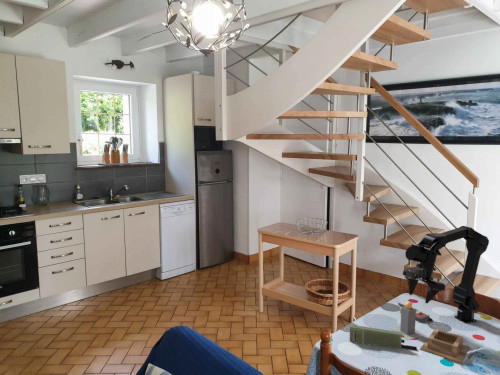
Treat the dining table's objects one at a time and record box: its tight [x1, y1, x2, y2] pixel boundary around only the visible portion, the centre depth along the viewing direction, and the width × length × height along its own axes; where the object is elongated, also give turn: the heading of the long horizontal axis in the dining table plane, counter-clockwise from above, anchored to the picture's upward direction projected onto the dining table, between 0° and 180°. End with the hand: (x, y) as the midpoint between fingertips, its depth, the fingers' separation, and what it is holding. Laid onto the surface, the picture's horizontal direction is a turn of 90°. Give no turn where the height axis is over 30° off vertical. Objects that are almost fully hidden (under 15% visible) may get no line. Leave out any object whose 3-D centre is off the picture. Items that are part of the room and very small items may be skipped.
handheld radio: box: [349, 324, 418, 351], centre depth 151 cm, size 7×3×25 cm
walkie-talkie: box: [397, 302, 433, 323], centre depth 178 cm, size 9×4×20 cm
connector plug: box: [399, 301, 417, 335], centre depth 160 cm, size 4×4×13 cm
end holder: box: [419, 328, 470, 365], centre depth 147 cm, size 14×14×5 cm
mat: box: [389, 326, 427, 341], centre depth 160 cm, size 10×10×1 cm
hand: (418, 298), depth 163 cm, fingers open, 9 cm apart
